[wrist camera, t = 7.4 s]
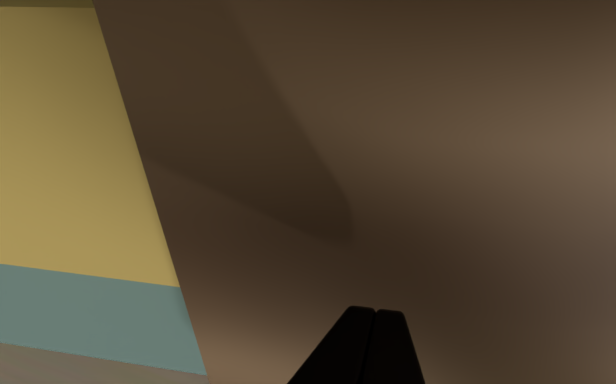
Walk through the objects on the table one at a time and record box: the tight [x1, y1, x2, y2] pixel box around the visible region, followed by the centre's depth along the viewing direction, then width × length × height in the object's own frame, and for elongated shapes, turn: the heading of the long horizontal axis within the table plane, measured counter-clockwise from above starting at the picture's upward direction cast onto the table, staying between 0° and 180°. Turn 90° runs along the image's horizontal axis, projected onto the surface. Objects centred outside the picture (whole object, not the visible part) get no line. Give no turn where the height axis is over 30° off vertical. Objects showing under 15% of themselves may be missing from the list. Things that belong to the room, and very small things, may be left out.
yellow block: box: [0, 0, 180, 287], centre depth 13 cm, size 7×8×2 cm
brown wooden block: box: [92, 0, 616, 384], centre depth 11 cm, size 20×12×4 cm, turn 5°
